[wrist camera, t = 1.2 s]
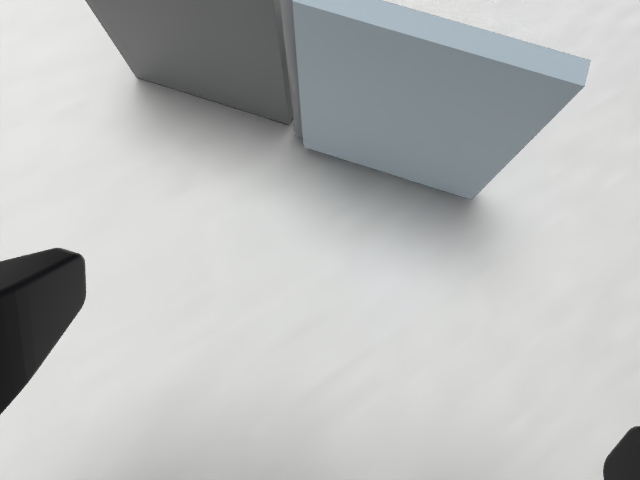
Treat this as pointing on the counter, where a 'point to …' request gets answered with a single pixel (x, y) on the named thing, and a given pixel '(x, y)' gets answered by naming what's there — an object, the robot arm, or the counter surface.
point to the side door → (419, 90)
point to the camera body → (206, 49)
